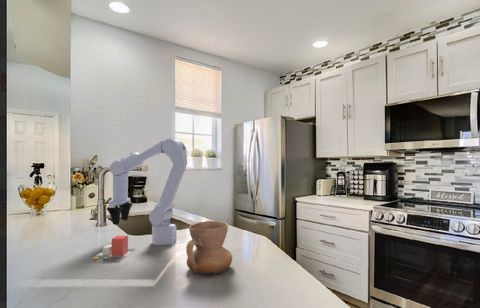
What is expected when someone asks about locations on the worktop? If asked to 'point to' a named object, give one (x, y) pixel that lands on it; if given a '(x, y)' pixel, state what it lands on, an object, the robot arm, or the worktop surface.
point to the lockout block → (119, 245)
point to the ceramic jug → (208, 247)
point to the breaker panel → (108, 258)
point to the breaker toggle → (107, 249)
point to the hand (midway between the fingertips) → (120, 222)
